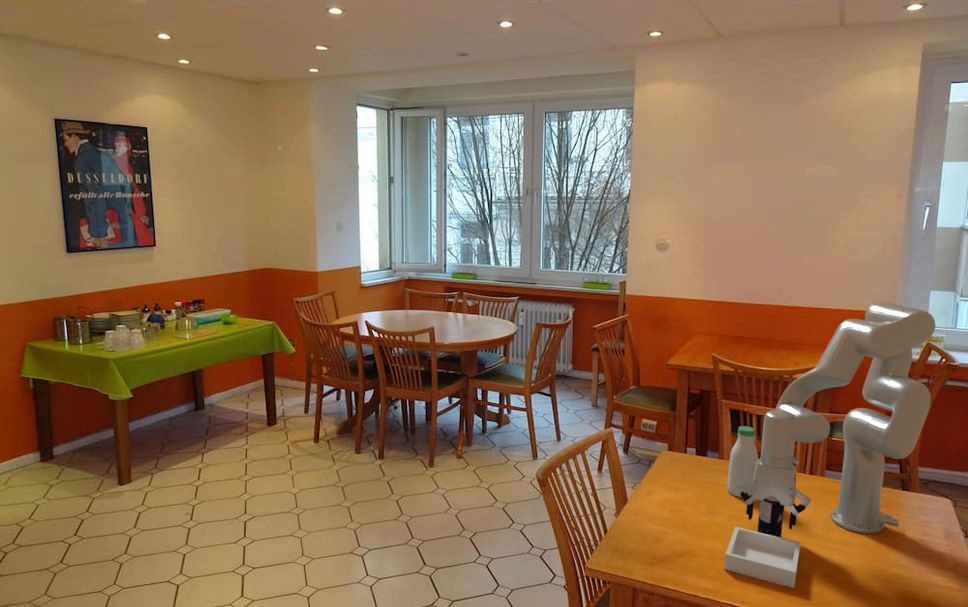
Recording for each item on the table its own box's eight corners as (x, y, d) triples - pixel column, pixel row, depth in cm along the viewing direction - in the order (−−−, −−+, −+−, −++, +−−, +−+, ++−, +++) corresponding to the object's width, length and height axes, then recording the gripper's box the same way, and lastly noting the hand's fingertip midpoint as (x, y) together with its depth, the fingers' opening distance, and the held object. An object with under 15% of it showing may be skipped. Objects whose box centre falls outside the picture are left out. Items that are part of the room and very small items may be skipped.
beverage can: (779, 543, 168) (783, 499, 166) (755, 537, 171) (759, 493, 169) (782, 534, 173) (786, 491, 171) (759, 528, 176) (763, 485, 174)
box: (798, 557, 162) (800, 542, 161) (794, 588, 149) (795, 572, 148) (734, 541, 169) (735, 526, 168) (724, 569, 156) (725, 554, 155)
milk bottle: (759, 499, 193) (765, 433, 190) (732, 498, 193) (738, 432, 190) (749, 487, 200) (754, 424, 197) (723, 486, 201) (728, 423, 197)
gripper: (815, 461, 168) (808, 524, 171) (742, 447, 176) (737, 508, 179) (813, 472, 161) (806, 537, 164) (738, 457, 169) (732, 519, 172)
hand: (770, 522), depth 171 cm, fingers open, 9 cm apart
